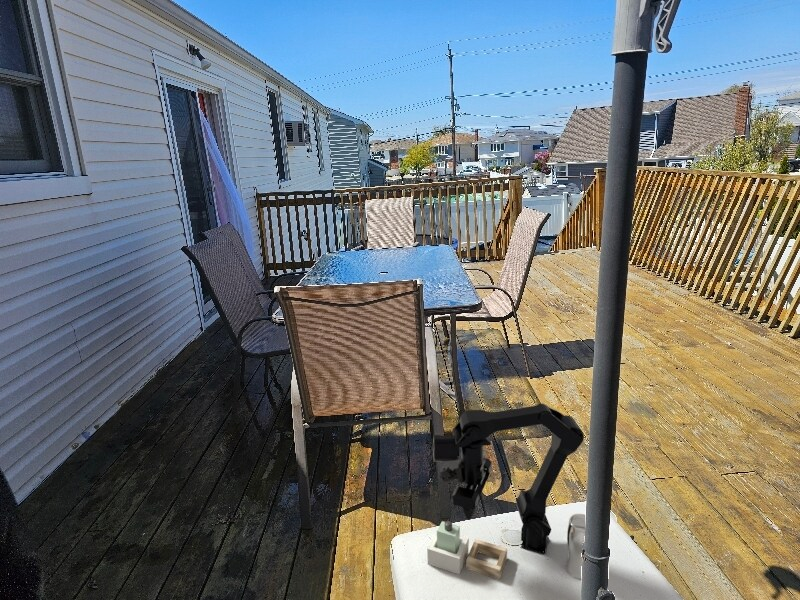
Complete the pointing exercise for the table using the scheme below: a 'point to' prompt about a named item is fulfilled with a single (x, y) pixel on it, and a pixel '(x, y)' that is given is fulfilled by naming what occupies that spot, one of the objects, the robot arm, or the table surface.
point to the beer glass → (575, 544)
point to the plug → (448, 537)
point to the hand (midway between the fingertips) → (473, 507)
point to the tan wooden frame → (482, 565)
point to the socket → (448, 555)
